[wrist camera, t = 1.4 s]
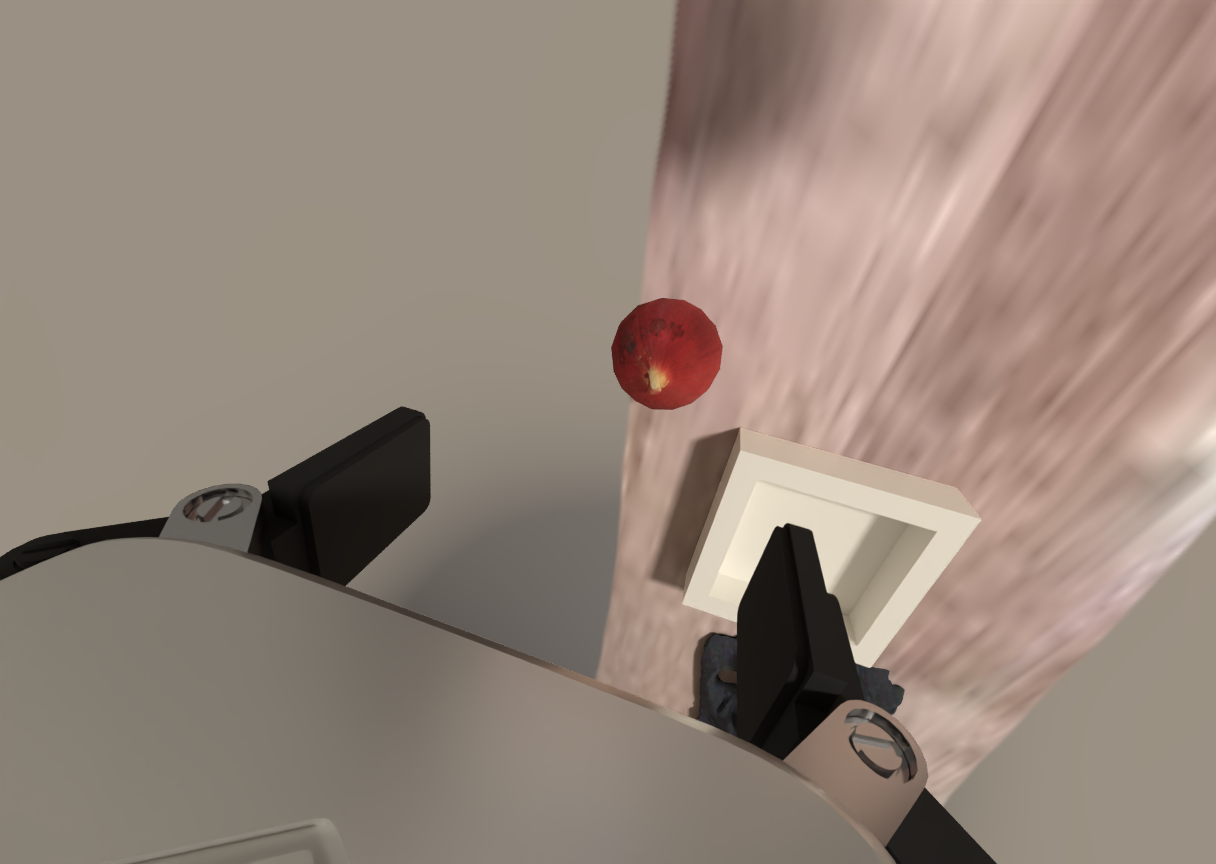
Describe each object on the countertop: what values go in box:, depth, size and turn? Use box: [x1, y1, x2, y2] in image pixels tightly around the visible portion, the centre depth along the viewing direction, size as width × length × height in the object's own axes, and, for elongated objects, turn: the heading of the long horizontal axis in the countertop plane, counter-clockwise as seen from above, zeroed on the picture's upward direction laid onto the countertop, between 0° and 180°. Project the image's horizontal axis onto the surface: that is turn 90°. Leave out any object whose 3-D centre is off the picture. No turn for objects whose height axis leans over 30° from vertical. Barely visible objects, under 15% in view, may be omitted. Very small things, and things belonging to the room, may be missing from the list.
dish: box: [682, 427, 981, 668], centre depth 29 cm, size 13×13×3 cm
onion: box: [611, 298, 723, 410], centre depth 24 cm, size 6×6×8 cm
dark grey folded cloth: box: [698, 634, 904, 737], centre depth 38 cm, size 15×22×5 cm
